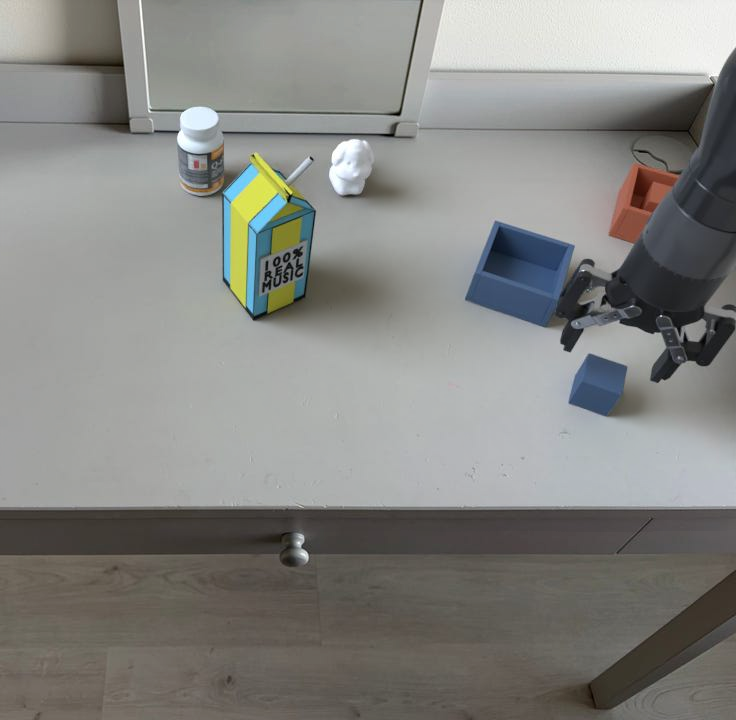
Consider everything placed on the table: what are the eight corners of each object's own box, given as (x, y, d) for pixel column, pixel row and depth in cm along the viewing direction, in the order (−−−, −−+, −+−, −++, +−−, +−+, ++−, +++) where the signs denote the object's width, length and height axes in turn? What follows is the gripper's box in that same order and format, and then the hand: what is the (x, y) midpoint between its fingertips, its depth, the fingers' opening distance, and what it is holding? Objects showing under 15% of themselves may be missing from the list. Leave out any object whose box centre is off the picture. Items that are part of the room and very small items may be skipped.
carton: (312, 296, 89) (329, 171, 75) (254, 322, 87) (260, 198, 72) (278, 255, 93) (288, 129, 79) (222, 279, 91) (221, 153, 76)
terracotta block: (671, 215, 99) (686, 190, 96) (668, 234, 97) (683, 210, 93) (639, 205, 100) (653, 181, 97) (635, 225, 98) (649, 200, 94)
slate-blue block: (612, 388, 83) (628, 366, 80) (606, 416, 81) (622, 395, 78) (574, 375, 84) (588, 352, 81) (567, 403, 82) (581, 381, 78)
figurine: (330, 206, 99) (338, 155, 92) (321, 166, 103) (327, 115, 97) (372, 204, 99) (382, 154, 93) (361, 164, 104) (370, 113, 97)
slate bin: (561, 272, 93) (575, 245, 89) (545, 327, 88) (559, 300, 84) (484, 248, 95) (495, 220, 91) (464, 300, 90) (474, 272, 86)
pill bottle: (223, 198, 99) (222, 133, 91) (178, 197, 99) (173, 132, 91) (224, 169, 102) (224, 104, 94) (181, 168, 102) (177, 102, 94)
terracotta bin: (693, 212, 100) (711, 184, 97) (686, 259, 95) (704, 231, 91) (619, 190, 102) (634, 162, 99) (608, 235, 97) (623, 207, 93)
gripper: (596, 245, 64) (532, 363, 77) (780, 303, 61) (680, 415, 74) (610, 190, 68) (547, 310, 81) (783, 241, 65) (688, 358, 78)
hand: (610, 360), depth 77 cm, fingers open, 8 cm apart
